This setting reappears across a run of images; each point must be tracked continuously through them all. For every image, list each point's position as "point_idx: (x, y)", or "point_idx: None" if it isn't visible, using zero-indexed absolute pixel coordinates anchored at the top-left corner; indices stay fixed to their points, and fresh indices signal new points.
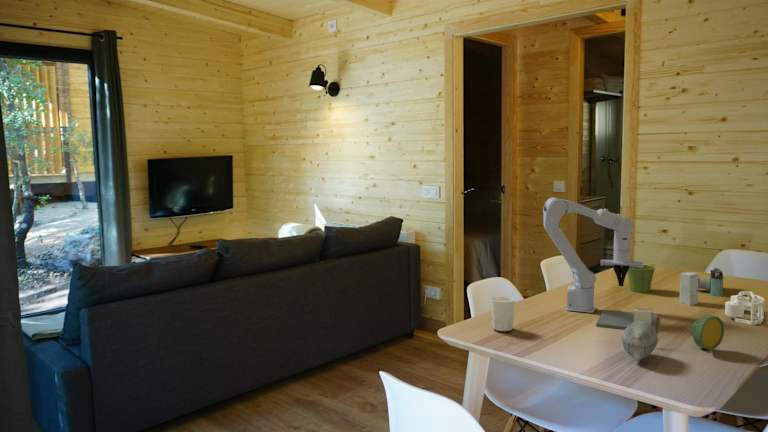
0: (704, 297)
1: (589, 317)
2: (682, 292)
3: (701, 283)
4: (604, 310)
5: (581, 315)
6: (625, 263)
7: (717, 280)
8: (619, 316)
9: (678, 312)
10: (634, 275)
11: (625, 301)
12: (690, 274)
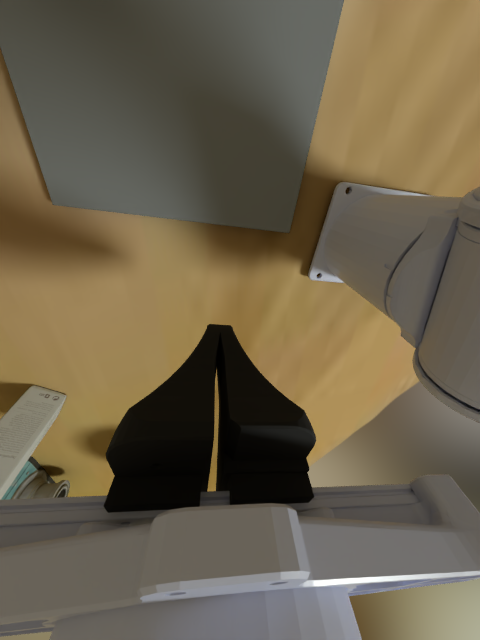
0: (43, 453)
1: (372, 86)
2: (29, 428)
3: (42, 497)
4: (286, 216)
5: (399, 127)
6: (113, 573)
7: None
8: (221, 85)
9: (27, 314)
10: None
11: None
12: None
